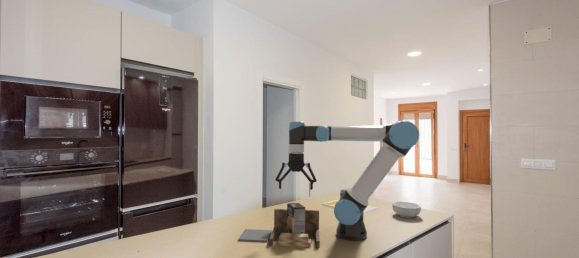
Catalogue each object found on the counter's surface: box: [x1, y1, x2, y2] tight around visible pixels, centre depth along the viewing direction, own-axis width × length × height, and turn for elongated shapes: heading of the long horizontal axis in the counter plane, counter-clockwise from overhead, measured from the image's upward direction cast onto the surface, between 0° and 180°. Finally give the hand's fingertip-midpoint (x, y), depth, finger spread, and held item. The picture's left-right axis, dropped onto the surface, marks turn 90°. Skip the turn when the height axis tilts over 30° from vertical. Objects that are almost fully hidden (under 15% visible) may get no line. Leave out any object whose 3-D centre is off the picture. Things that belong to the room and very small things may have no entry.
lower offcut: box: [277, 237, 312, 248], centre depth 133 cm, size 15×4×2 cm, turn 85°
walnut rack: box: [268, 208, 321, 249], centre depth 139 cm, size 23×18×12 cm
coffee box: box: [286, 202, 306, 234], centre depth 141 cm, size 9×6×16 cm
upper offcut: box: [279, 233, 309, 243], centre depth 133 cm, size 13×4×2 cm, turn 85°
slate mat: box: [237, 228, 273, 243], centre depth 143 cm, size 14×14×1 cm
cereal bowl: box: [391, 201, 422, 219], centre depth 180 cm, size 17×17×7 cm
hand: (295, 195), depth 142 cm, fingers open, 13 cm apart
